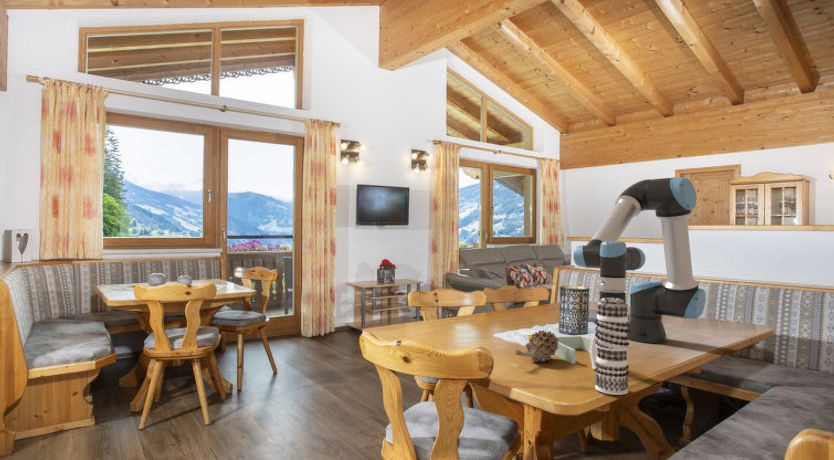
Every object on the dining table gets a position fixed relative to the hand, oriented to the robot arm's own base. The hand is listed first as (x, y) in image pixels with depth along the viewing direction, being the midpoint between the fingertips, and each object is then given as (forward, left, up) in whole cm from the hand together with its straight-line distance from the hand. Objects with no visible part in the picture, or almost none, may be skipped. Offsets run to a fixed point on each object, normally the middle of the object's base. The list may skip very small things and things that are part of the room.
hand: (612, 366), depth 151 cm
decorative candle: (+11, +15, -2) cm, 19 cm away
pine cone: (+19, -13, -2) cm, 23 cm away
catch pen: (0, -19, -1) cm, 19 cm away
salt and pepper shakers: (+1, -4, -1) cm, 4 cm away
